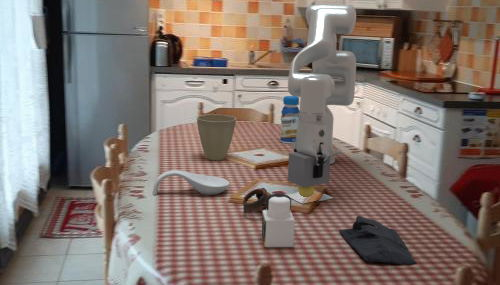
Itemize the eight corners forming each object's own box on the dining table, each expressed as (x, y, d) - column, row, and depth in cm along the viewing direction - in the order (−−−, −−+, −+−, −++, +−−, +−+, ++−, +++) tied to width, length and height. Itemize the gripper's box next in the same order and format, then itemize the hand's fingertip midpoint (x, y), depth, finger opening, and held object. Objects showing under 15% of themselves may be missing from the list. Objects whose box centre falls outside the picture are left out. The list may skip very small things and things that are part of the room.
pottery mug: (281, 221, 155) (269, 198, 151) (251, 233, 157) (237, 211, 153) (280, 197, 165) (269, 175, 162) (251, 208, 167) (239, 187, 164)
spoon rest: (226, 186, 184) (226, 165, 182) (231, 197, 172) (232, 175, 171) (153, 188, 179) (152, 166, 178) (153, 200, 168) (153, 177, 166)
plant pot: (212, 165, 207) (212, 122, 203) (189, 157, 218) (189, 116, 214) (243, 159, 217) (244, 118, 213) (219, 151, 228) (219, 112, 224)
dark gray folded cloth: (354, 267, 128) (356, 248, 126) (337, 231, 149) (338, 214, 148) (421, 268, 128) (423, 249, 127) (394, 231, 149) (396, 215, 148)
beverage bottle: (302, 141, 250) (304, 96, 245) (293, 144, 243) (295, 99, 238) (285, 138, 254) (287, 95, 250) (276, 142, 247) (278, 97, 243)
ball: (292, 187, 173) (299, 198, 176) (302, 192, 169) (310, 202, 172) (302, 176, 175) (309, 186, 177) (313, 180, 171) (320, 190, 173)
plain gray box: (313, 176, 179) (314, 149, 177) (328, 182, 173) (330, 154, 171) (287, 180, 173) (289, 153, 172) (303, 187, 167) (304, 158, 165)
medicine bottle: (261, 236, 142) (262, 191, 140) (289, 236, 143) (291, 191, 140) (264, 247, 136) (266, 200, 133) (293, 247, 136) (295, 200, 133)
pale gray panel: (312, 189, 182) (312, 188, 182) (333, 198, 174) (333, 197, 173) (282, 195, 175) (282, 194, 175) (302, 204, 167) (302, 203, 167)
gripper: (340, 121, 164) (337, 179, 167) (303, 112, 178) (301, 166, 182) (321, 123, 160) (317, 183, 163) (284, 114, 174) (282, 169, 178)
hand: (308, 173), depth 173 cm, fingers closed on plain gray box, 7 cm apart
